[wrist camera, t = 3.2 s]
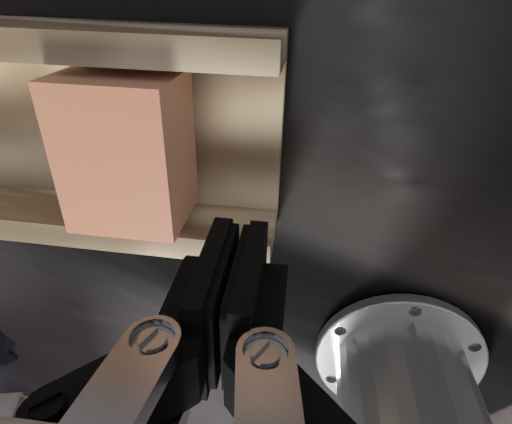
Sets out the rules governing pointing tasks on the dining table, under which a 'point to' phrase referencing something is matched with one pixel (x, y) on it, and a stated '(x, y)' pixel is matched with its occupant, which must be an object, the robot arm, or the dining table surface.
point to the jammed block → (120, 149)
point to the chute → (205, 120)
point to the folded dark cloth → (6, 350)
